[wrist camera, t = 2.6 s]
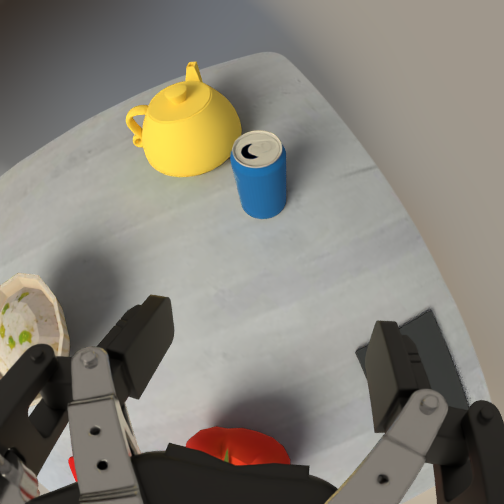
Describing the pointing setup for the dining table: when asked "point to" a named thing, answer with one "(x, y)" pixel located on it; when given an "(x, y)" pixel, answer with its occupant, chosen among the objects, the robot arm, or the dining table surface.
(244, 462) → the tomato
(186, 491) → the robot arm
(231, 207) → the dining table surface
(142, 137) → the teapot
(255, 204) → the beverage can
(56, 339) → the bowl
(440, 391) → the place mat
